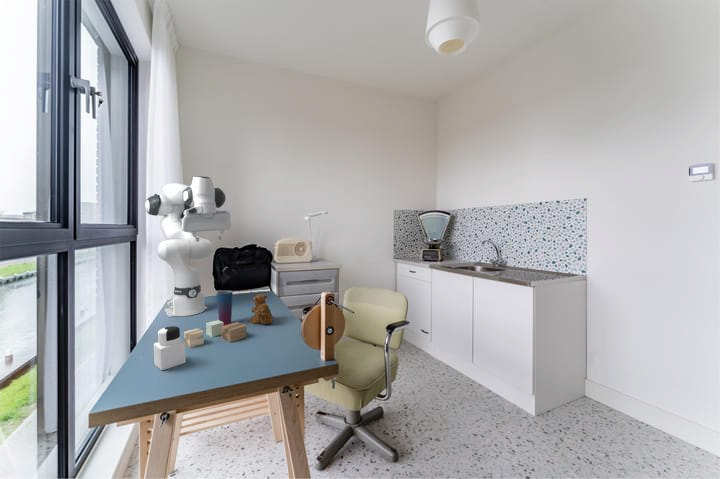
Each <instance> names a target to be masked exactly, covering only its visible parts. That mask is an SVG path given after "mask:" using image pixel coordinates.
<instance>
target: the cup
mask: <svg viewBox="0 0 720 479" xmlns="http://www.w3.org/2000/svg"><path fill="white" fill-rule="evenodd" d="M215 294H216V302H217V314H218V320H219V321H221V322H224V326H225V325H229V324H232V314H233V313H232V311H233V310H232V309H233V291H232V290H220V291H217V292H216V293H215Z"/></svg>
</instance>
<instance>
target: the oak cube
mask: <svg viewBox="0 0 720 479" xmlns="http://www.w3.org/2000/svg"><path fill="white" fill-rule="evenodd" d="M183 342H185V347H188V348H189V349H190V348H194V347H197V346H200V345H204V342H205V341H204V331H203V330H202V329H200V328H197V327H196V328H194V329H189V330H187V331H184V332H183Z"/></svg>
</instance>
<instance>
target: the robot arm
mask: <svg viewBox="0 0 720 479" xmlns="http://www.w3.org/2000/svg"><path fill="white" fill-rule="evenodd" d="M225 202H226V194H225V193H224V190H222V189H221V188H219V187H214V184H213V180H212V178H211V177H209V176H201V175H199V176H198V175H197V176H196V175H195V176H193V178H192V182H191V184H190V185H187V184H184V183H180V182H169V183H167V184H165V185H163V187H162V188H161V193H160V194H158V193H154V194H153V195H151V196H148V198H146V199H145V202H144V208H145V210H146V213H147V214H148V215H150V216H155V217H156V216H160V217H162V218H161V219H160V221H159V226H160V227H159V228H160V230H161V232H162V234H163V236H164V237H165V239H166V240H163V241H160V242H159V244H158V245H157V249H156V253H157V256H158V257H159V258H160V259H161V260H163V261H165V263H167V264H168V265H169V266H170V267H171V269H172V271H173V274H174V283H175V284H174V289H173V295H172V296H171V298H170V299H169V300H168V301H167V302H166V306H167V307H166V308H164V310H163V311H164V312H166V313H165V315H167V317H169V318H171V317H189V316H194V315H197V314H201V313H203V312H204V311H205V310H207V309H208V306H205V299H204V298H205V297H204V294H203V293H201V291H202V286H201V284H200V283H201V281H200V271H199V269H198V268H196V267H194V266H192V265H190V264H188V261H189V260H199V259H203V258H205V259H206V258H208V257H210V256H211V255H212V254H213V252H214V245H213V243H212V242H211V240H209V239H207V238H203V237H200V236H198V235H196V233H197V232H215V231H219V233H220V234H219V235H218V236H217V240H218V241H222V240H223V238H222V237H223V234H224V233H225V231H229V230H231V229H232V221H231V213H230V212H229V211H227V210H217V209H220V208H221V207H222V206H223V205H224V204H225Z"/></svg>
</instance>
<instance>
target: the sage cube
mask: <svg viewBox="0 0 720 479" xmlns="http://www.w3.org/2000/svg"><path fill="white" fill-rule="evenodd" d="M221 326H224V322H221V321H219V319H217V320H213V321H209V322H205V328H206V329H205V331H206V333H205V335H206V336H209V337H210V338H214V337H218V336H221Z"/></svg>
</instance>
